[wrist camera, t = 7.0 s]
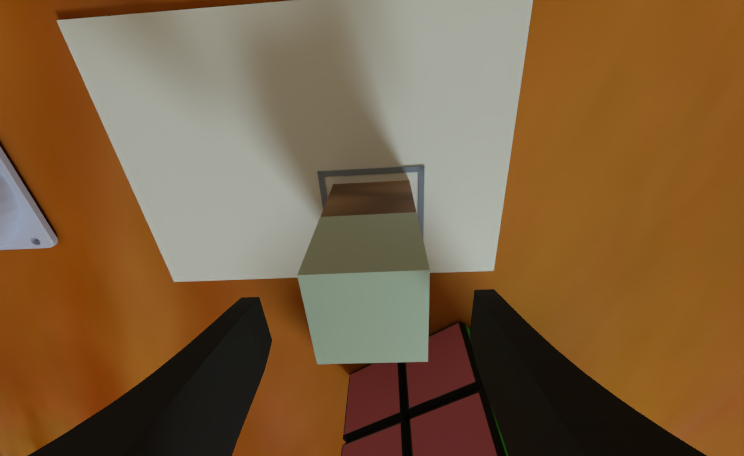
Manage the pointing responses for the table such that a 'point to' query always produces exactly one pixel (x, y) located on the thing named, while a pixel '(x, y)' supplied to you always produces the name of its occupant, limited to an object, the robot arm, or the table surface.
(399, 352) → the sage block
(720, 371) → the table surface
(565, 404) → the robot arm
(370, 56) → the board
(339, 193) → the walnut block
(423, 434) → the puzzle cube
